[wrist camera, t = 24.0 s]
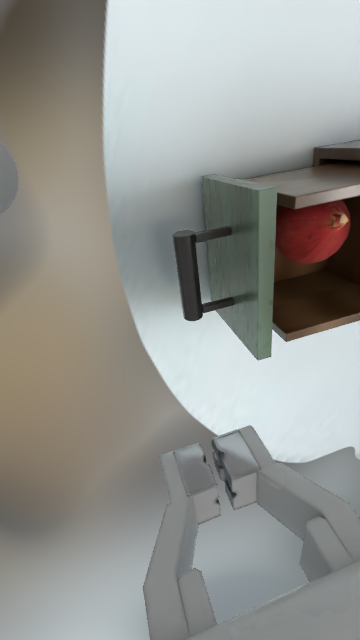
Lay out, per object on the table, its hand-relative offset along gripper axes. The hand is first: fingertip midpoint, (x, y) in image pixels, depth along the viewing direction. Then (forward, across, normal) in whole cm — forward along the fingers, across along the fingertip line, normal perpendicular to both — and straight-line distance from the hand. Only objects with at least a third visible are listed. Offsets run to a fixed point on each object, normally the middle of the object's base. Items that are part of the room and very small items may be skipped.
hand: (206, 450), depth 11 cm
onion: (+19, -15, 0) cm, 24 cm away
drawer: (+20, -12, 0) cm, 24 cm away
